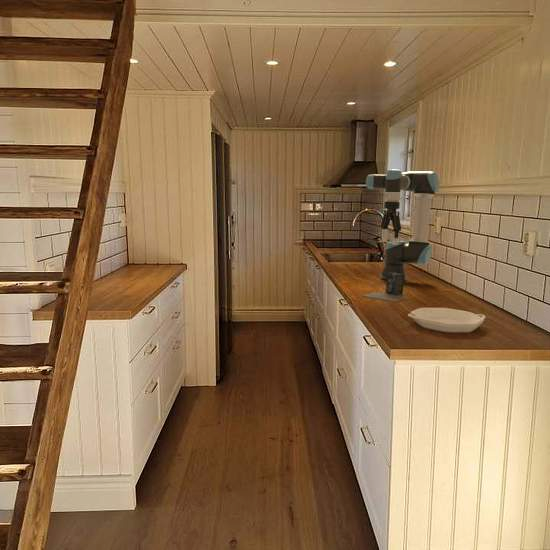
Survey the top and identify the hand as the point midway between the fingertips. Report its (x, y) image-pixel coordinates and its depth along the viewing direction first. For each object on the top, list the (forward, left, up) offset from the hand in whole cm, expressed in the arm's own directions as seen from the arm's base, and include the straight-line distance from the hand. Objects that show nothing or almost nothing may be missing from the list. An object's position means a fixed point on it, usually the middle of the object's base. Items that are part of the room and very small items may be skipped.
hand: (389, 243), depth 245 cm
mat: (+10, +4, -26) cm, 28 cm away
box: (0, +4, -26) cm, 26 cm away
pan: (+43, +45, -26) cm, 68 cm away
